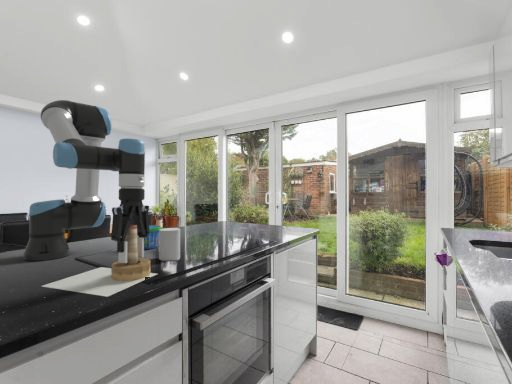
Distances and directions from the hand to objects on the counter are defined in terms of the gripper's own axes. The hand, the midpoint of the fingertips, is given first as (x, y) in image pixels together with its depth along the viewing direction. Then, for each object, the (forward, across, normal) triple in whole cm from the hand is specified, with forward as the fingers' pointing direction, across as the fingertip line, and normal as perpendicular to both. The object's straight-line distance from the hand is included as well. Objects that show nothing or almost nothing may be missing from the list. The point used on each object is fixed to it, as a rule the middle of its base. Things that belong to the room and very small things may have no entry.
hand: (131, 259), depth 86 cm
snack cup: (+6, +38, +24) cm, 45 cm away
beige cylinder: (+5, 0, 0) cm, 5 cm away
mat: (+5, -6, +5) cm, 10 cm away
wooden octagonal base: (+5, 0, 0) cm, 5 cm away
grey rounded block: (+6, +23, +2) cm, 24 cm away
